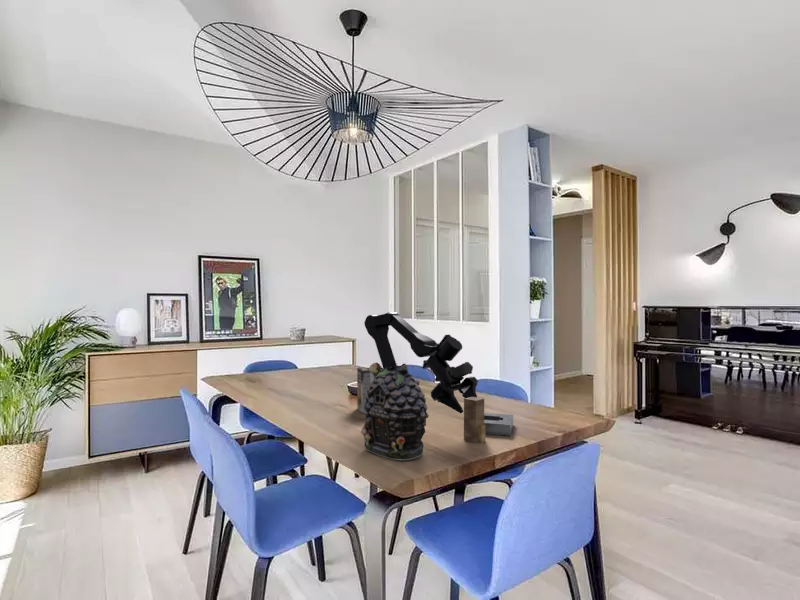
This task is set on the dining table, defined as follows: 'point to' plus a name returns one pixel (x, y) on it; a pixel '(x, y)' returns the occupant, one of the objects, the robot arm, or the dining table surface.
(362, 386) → the coffee box
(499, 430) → the hub block
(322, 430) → the dining table surface
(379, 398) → the decorative house
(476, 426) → the keyed plug
